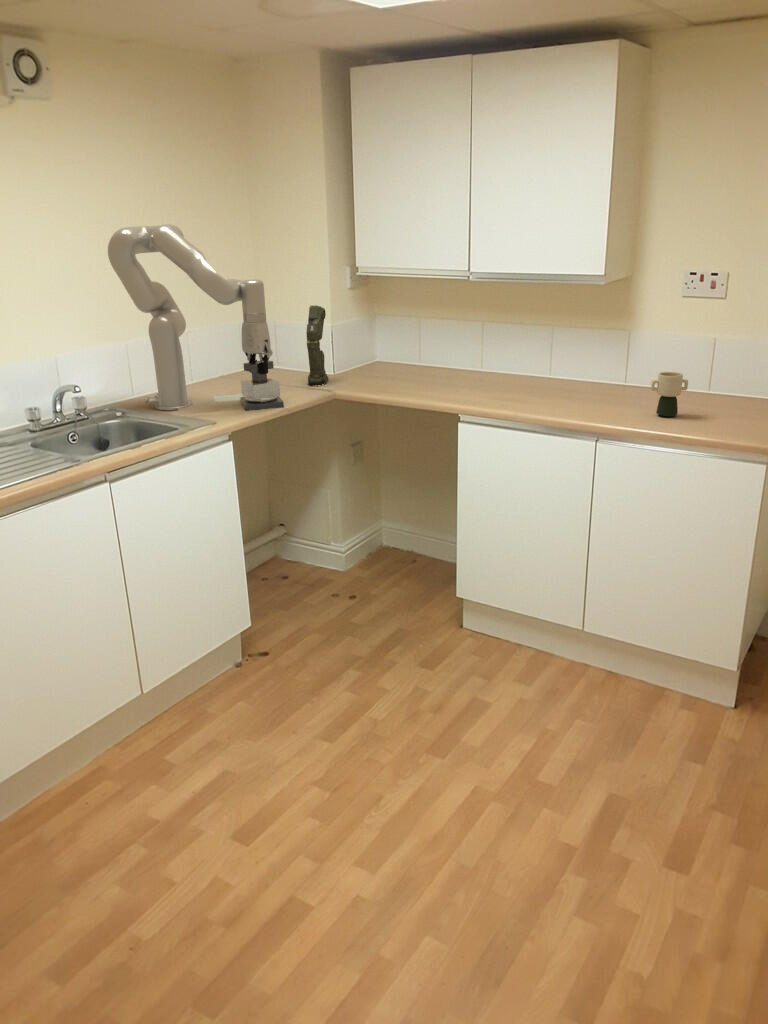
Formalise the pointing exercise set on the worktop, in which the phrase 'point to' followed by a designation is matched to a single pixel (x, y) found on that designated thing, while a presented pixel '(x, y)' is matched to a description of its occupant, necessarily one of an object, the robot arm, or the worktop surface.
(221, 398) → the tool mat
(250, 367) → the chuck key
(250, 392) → the grey boxy piece
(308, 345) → the mechanical leg
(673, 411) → the character mug
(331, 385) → the worktop surface
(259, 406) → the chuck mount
